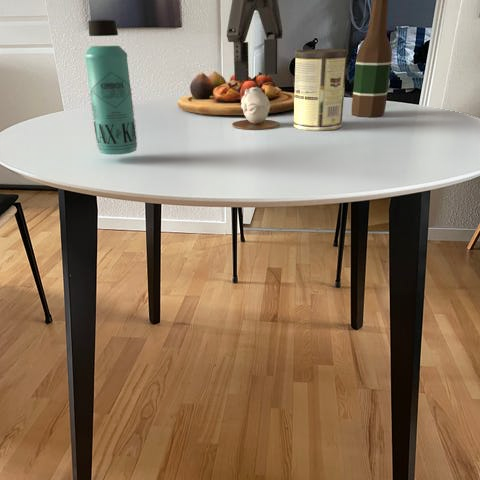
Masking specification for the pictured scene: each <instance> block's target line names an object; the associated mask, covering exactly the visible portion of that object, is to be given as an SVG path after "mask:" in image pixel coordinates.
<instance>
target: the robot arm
mask: <svg viewBox="0 0 480 480" xmlns="http://www.w3.org/2000/svg"><path fill="white" fill-rule="evenodd" d="M255 11H257V13H258V16H259V19H260V21H261V25H262V28H263V31H264V34H265V39H263V73H264V74H263V75H266V74H267V75H277V74H278V40H279V39H280V40H281V39H282V38H283V26H282V19H281V13H280V6H279V0H231V6H230V11H229V18H228V23H227V29H226V38H227V41H228V43H233V68H234V69H233V70H234V71H233V73H234V74H233V75H234V76H235V81H249V77H250V75H249V74H250V73H249V71H250V70H249V69H250V68H249V67H250V65H249V42H248V41H246V40H247V36H248V34H249V31H250V27H251V23H252V20H253V17H254V15H255Z"/></svg>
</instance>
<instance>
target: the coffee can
mask: <svg viewBox="0 0 480 480" xmlns="http://www.w3.org/2000/svg"><path fill="white" fill-rule="evenodd" d="M348 55H349V50H348V49H342V48H341V49H340V48H315V49H313V48H312V49H300V50H296V51H295V52H294V56H295V67H294V92H293V93H294V94H295V95H294V109H293V123H292V124H293V128H295V129H297V130H302V131H313V132H314V131H315V132H316V131H319V132H320V131H321V132H323V131H324V132H325V131H332V130H339V129H340V128H342V125H343V124H342V123H343V114H344V113H343V111H344V98H345V88H346V87H345V85H346V75H347V73H346V72H347V63H348V62H347V61H348Z"/></svg>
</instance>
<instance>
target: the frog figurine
mask: <svg viewBox="0 0 480 480" xmlns="http://www.w3.org/2000/svg"><path fill="white" fill-rule="evenodd" d="M241 104H242V105H241V107H242V109H243V112H244V115H243V116H244V117H245V118H246V120H248V121H249V122H251V123H254V124H259V123H261V122H263V121H264V120H267V118H268V115H269V113H268V112H269V108H270V102H269V100H268V97H267V96H266V95H265V94H264V93H263V92H262V90H261V89H260V88H257V87H253V88H252V87H251V88H250V89H246V91H245V95H244V96H243V97H242V100H241Z"/></svg>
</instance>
